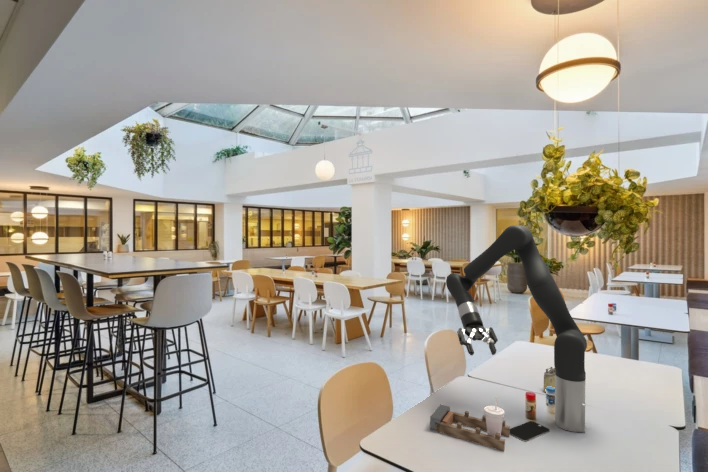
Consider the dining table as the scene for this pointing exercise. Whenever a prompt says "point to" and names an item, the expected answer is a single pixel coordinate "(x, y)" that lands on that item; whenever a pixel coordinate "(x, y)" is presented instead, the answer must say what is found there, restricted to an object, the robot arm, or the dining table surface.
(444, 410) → the block
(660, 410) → the dining table surface
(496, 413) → the smoothie
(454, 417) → the brown pegged rack
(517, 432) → the smartphone
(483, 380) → the dining table surface
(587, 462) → the dining table surface
